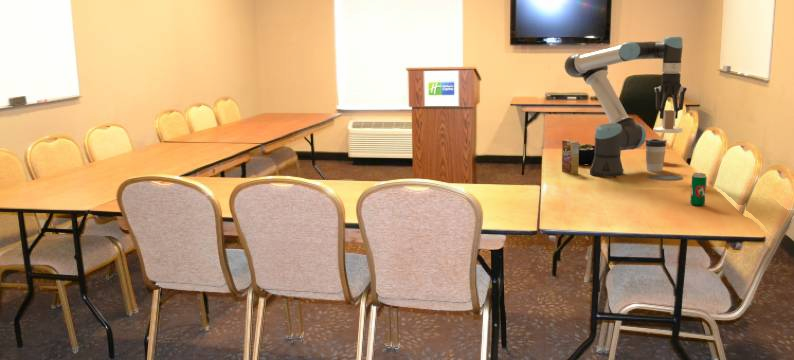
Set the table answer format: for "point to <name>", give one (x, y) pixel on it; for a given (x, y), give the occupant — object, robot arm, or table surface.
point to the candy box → (570, 156)
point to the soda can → (698, 189)
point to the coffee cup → (655, 155)
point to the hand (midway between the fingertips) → (668, 126)
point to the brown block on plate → (668, 124)
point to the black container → (586, 154)
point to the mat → (665, 177)
